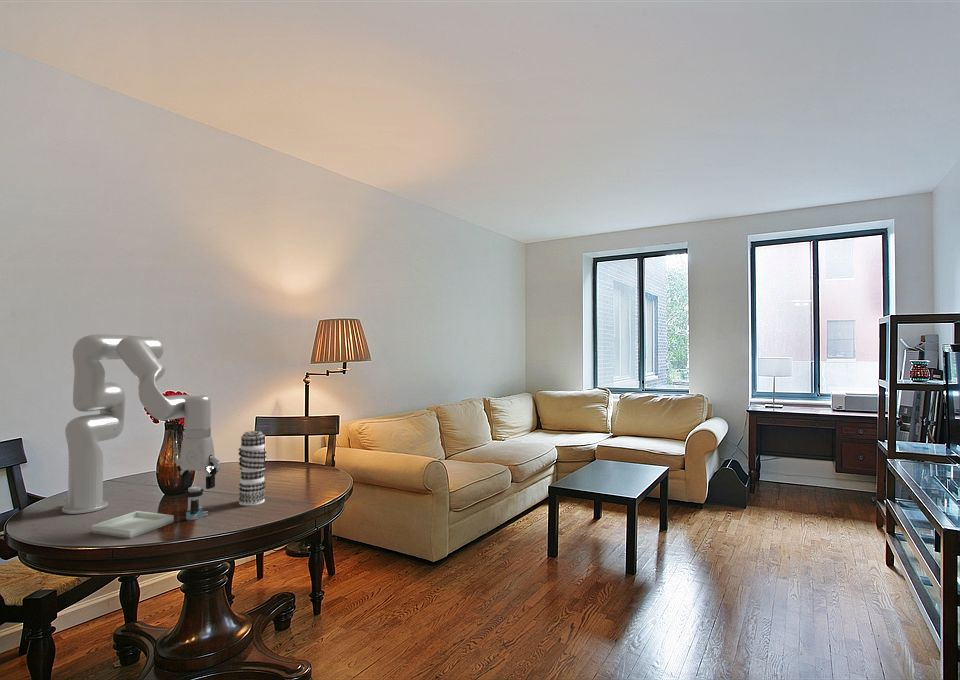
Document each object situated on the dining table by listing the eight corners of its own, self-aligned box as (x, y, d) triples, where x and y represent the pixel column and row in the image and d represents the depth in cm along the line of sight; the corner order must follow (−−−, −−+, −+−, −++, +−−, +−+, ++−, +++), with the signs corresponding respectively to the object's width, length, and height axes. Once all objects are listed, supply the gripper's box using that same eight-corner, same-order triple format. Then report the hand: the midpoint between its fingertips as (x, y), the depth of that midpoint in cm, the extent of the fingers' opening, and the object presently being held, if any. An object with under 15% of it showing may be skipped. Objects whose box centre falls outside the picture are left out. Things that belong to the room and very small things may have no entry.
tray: (91, 532, 161) (91, 525, 161) (136, 517, 175) (137, 510, 175) (130, 538, 156) (130, 530, 156) (173, 522, 171) (173, 515, 171)
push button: (205, 514, 179) (205, 483, 179) (209, 518, 175) (210, 487, 175) (182, 518, 175) (183, 487, 175) (186, 522, 171) (187, 490, 171)
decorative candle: (233, 502, 193) (234, 431, 193) (259, 497, 200) (260, 429, 200) (243, 507, 187) (244, 434, 187) (270, 502, 193) (271, 432, 194)
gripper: (167, 435, 174) (167, 488, 174) (210, 436, 169) (211, 491, 169) (185, 431, 181) (186, 483, 181) (228, 433, 176) (228, 485, 176)
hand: (198, 487), depth 175 cm, fingers open, 9 cm apart
